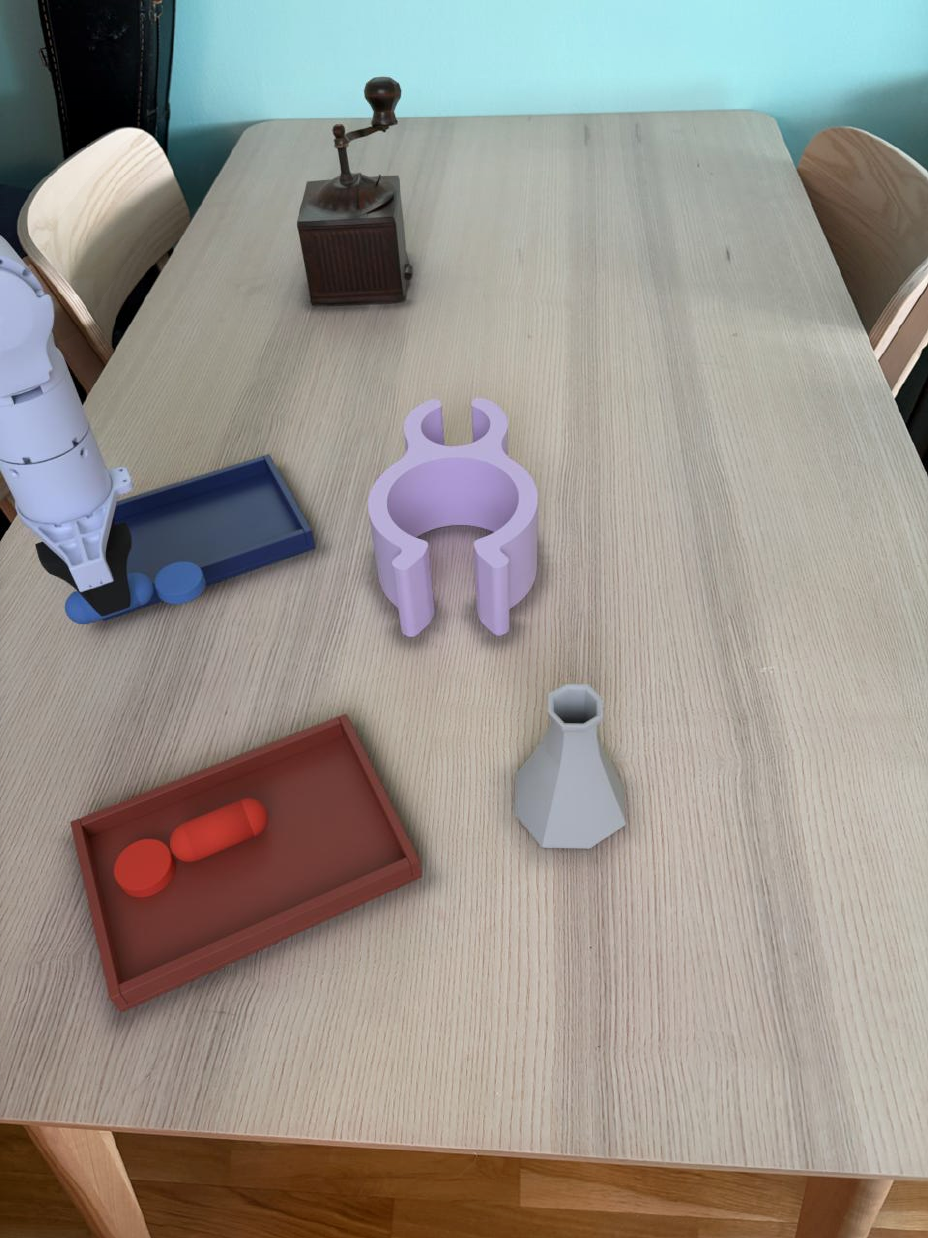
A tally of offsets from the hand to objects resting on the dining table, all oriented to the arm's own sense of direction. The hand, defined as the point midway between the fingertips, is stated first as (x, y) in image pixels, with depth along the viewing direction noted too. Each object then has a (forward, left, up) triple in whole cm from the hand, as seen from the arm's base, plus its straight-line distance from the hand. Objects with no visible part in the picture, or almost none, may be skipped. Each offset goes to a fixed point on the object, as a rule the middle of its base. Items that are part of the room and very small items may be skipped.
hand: (110, 595), depth 67 cm
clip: (+26, -1, -6) cm, 27 cm away
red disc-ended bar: (0, -19, -6) cm, 19 cm away
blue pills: (+2, 0, -1) cm, 2 cm away
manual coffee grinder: (+36, +45, -6) cm, 58 cm away
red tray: (+3, -20, -6) cm, 21 cm away
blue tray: (+7, +10, -6) cm, 14 cm away
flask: (+22, -26, -6) cm, 34 cm away
